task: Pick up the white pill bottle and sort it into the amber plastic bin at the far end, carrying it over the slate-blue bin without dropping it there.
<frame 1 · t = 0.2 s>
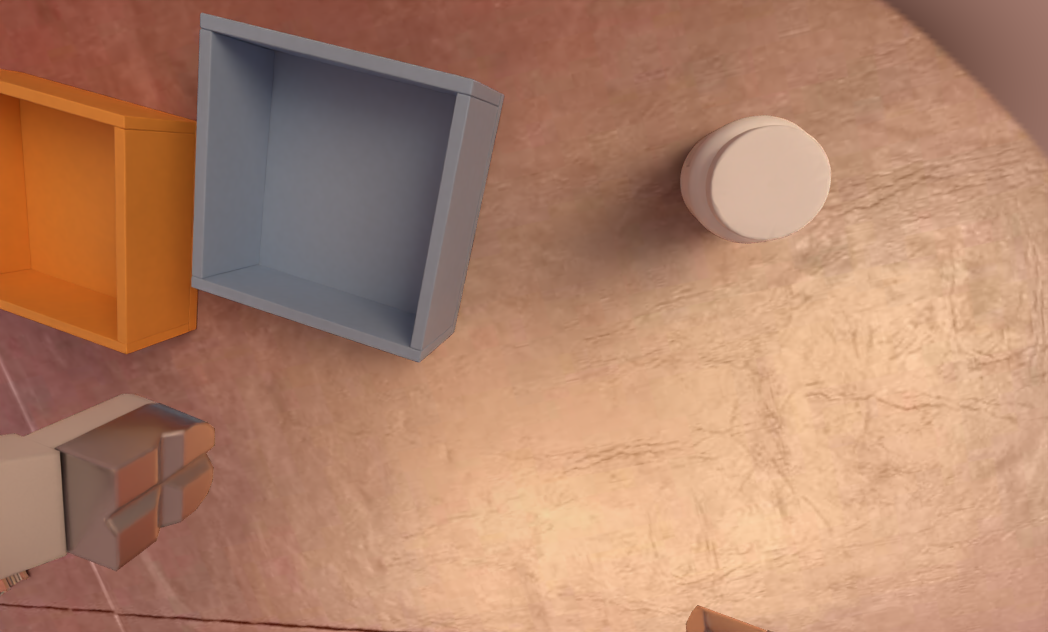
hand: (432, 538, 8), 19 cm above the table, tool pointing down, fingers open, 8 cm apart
amber bin: (112, 205, 31), on the table
pill bottle: (730, 178, 23), on the table
blue bin: (367, 191, 27), on the table
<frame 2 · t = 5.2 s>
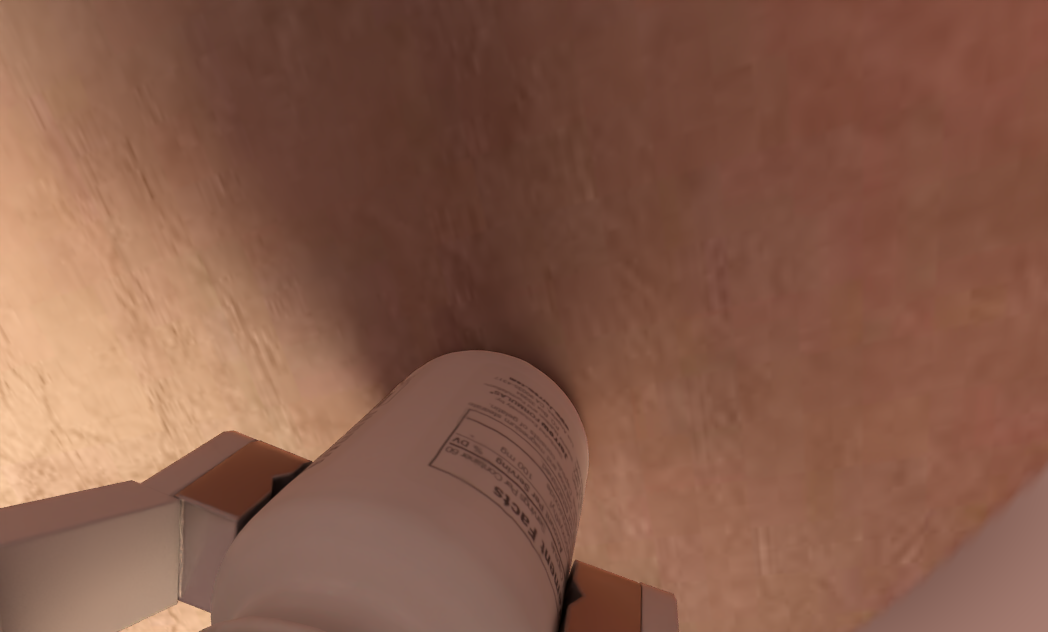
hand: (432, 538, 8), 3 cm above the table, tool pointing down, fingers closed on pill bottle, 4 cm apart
pill bottle: (491, 437, 11), on the table, touching gripper
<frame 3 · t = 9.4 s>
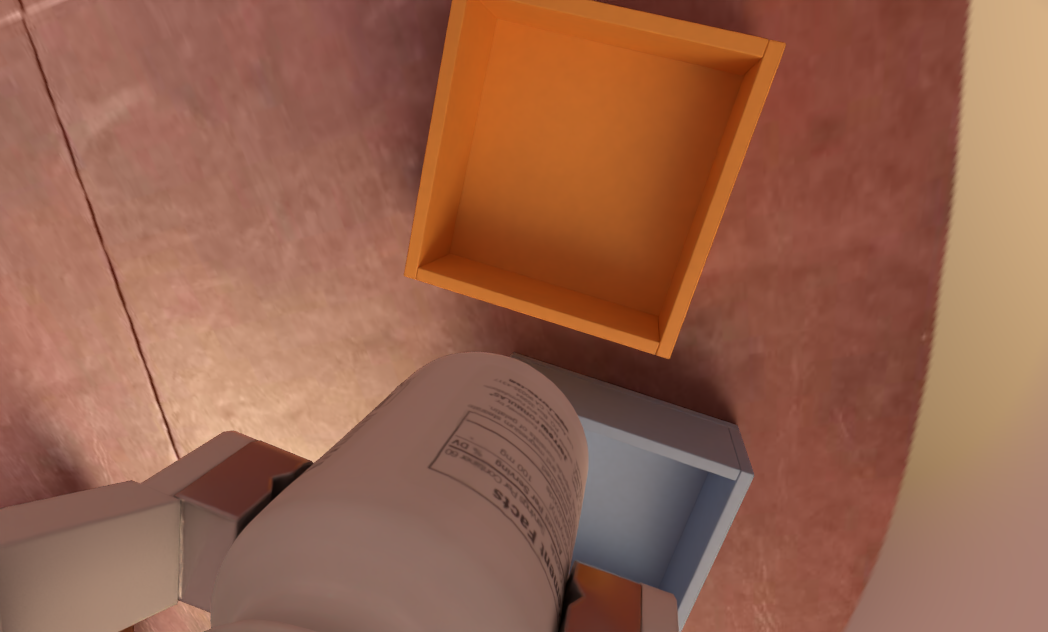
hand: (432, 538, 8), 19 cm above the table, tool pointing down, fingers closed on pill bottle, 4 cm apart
amber bin: (582, 173, 25), on the table
pill bottle: (491, 438, 11), point 16 cm above the table, touching gripper
blue bin: (589, 481, 29), on the table
when the fingers open (4 cm above the table, at t = 13.8 s): pill bottle stays where it is, resting on amber bin.
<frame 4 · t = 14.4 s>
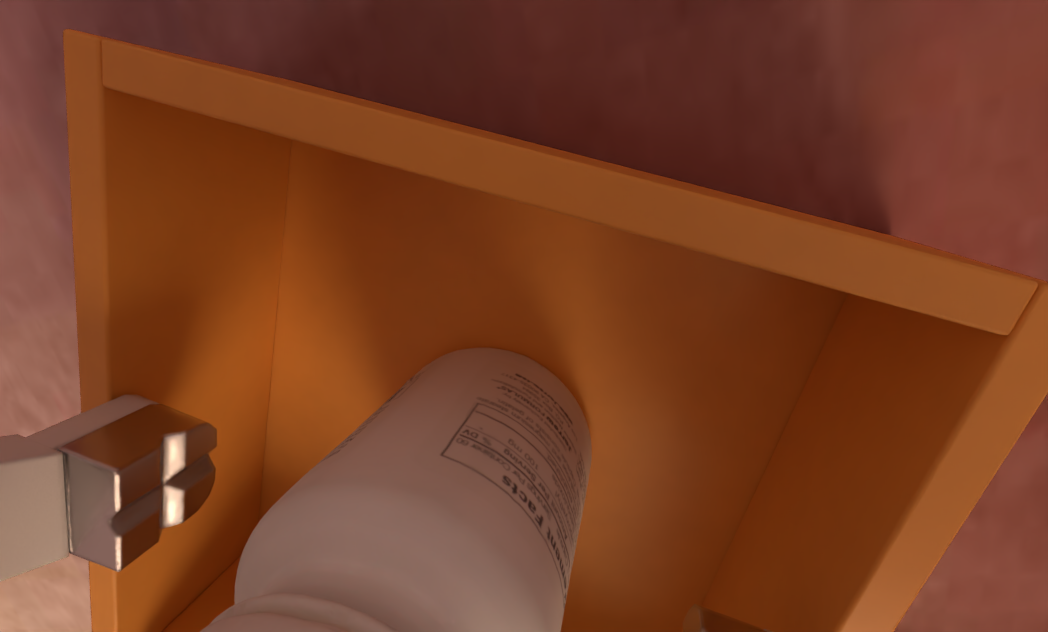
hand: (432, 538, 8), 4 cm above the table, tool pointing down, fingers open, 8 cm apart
amber bin: (499, 419, 12), on the table
pill bottle: (497, 432, 12), resting on amber bin
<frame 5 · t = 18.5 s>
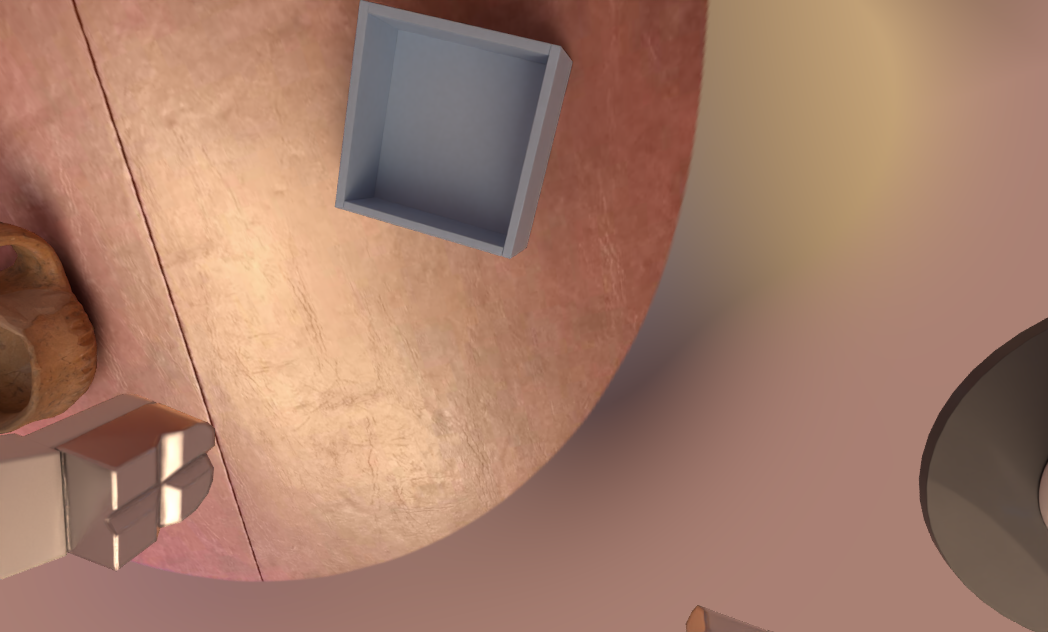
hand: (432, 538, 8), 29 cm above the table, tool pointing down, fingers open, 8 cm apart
blue bin: (463, 137, 35), on the table
bowl: (62, 310, 48), on the table
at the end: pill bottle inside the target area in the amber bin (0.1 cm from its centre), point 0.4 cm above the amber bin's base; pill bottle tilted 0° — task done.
